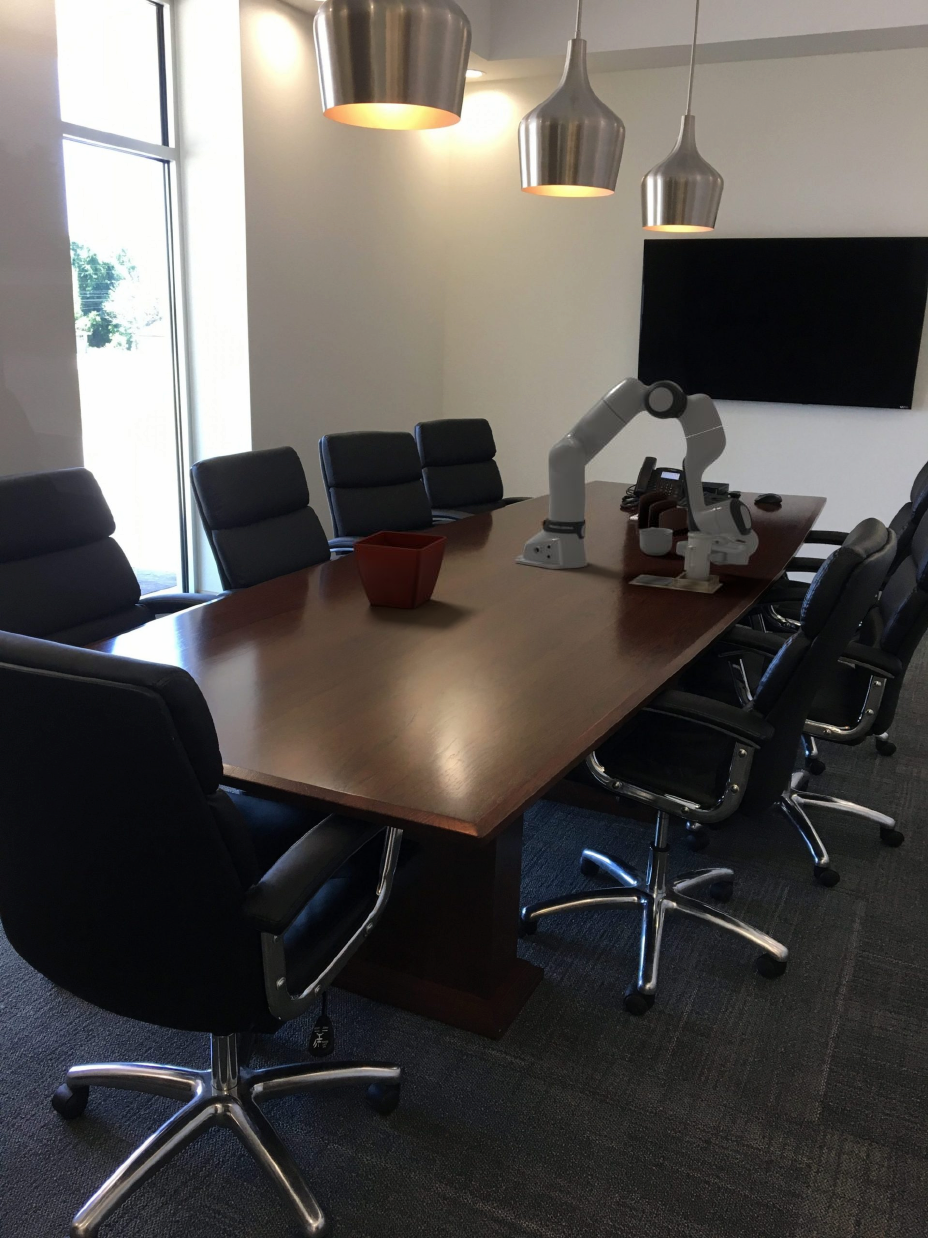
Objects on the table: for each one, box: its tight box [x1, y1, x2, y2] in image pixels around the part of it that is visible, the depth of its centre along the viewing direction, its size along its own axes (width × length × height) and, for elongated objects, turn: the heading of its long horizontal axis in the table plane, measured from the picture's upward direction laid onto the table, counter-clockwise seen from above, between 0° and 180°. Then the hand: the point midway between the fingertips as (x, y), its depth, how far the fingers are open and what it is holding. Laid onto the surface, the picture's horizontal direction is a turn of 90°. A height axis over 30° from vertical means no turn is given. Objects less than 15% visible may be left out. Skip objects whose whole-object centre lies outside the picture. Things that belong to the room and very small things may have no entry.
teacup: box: [638, 528, 674, 556], centre depth 333 cm, size 14×11×8 cm
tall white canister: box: [683, 531, 713, 582], centre depth 280 cm, size 10×7×15 cm
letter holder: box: [636, 490, 688, 532], centre depth 376 cm, size 10×20×14 cm, turn 138°
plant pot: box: [352, 530, 447, 610], centre depth 263 cm, size 19×19×17 cm
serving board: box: [628, 571, 723, 594], centre depth 286 cm, size 24×13×4 cm, turn 64°
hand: (697, 555), depth 280 cm, fingers closed on tall white canister, 6 cm apart
